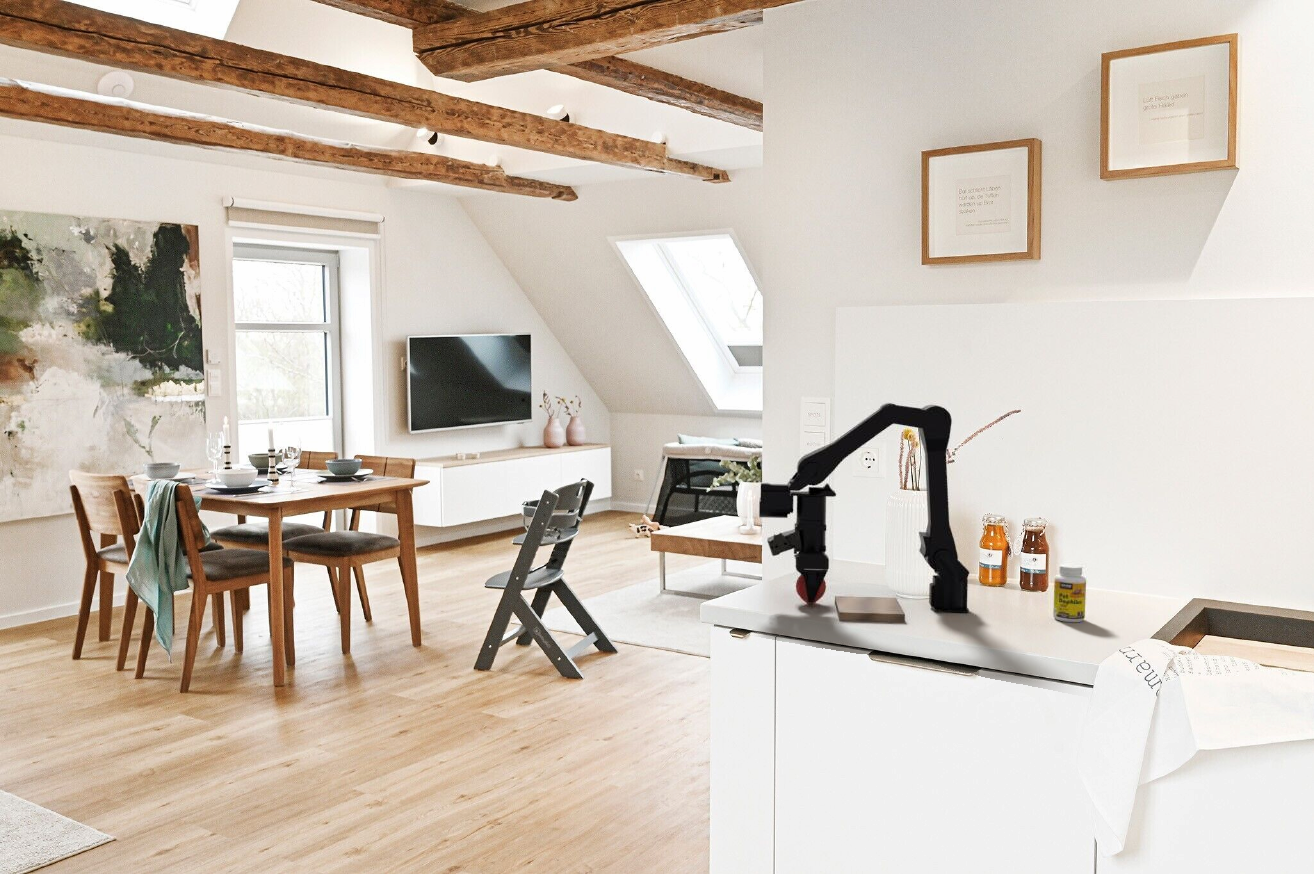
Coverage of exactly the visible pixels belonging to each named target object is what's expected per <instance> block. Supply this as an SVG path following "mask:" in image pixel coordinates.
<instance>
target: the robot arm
mask: <svg viewBox="0 0 1314 874" xmlns="http://www.w3.org/2000/svg"><path fill="white" fill-rule="evenodd" d="M952 420H953V419H952V415H951V413H950V411H948V410H947V409H946V408H945V407H942V406H940V405H937V404H928V405H925V406H923V407H922V408H921V407H912V406H906V405H899V404H895V403H891V402H885V403H883V404H882V405H881V406H880V407H879V408H878V409H877V410H876V411H875V412H873V413H871V414H870V415H868V417H866V418H864V419H863V420H862V421H860V422H859V423H858V424H856V425H854V426H853V427H852V428H851V429H849V430H848V431H846V432H844V434H843V435H841V436H840V437H838V438H837V439H836V440H834V441H832V442H830V443H829V444H826V445H824V446H821V447H820V448H817V449H815V450H813V451H811V452H809V453H807V454H805V455H803V456H801V458H799V460H798V462H797V465H796V466H797V467H796V472H795V473H794V475H793V476H792V477H791V478H789V481H788V482H787V484H786V483H770V482H761V483H760V497H759V504H758V505H759V506H758V507H759V510H758V511H759V512H758V516H759V518H766V519H767V518H774V519H775V518H777V519H788V515H791V514H794V497H796V522H794V529H790V530H787V531H786V530H785V531H783V532H779V533H778V534H773V535H772V536H769V537H767V541H766V542H767V544H768V547H769V550H770V553H771V555H772V556H773V557H775V556H779V555H780V554H781V553H784V552H787V551H791V550H793V556H794V557H793V558H794V559H795V570H796V572H798V573H799V574H800V575H803V577H804V581H805V587H806V593H807V599H808V602H814V600H815V598H816V595H817V593H818V591H819V589H820V586H821V584H822V582H823V580H825V577H826V576H827V573H828V571H829V569H830V558H829V556H828V555H827V554H826V552H827V545H826V539H827V538H826V532H827V524H826V523H827V521H826V520H827V498H828V497H829V498H832V497H833V498H834V497H837V493H836V491H835V490H833V489H832V488H831V486H830V484H829V483H827V482H826V483H825V484H824V485H823V486H818V485H820V484H822V483H823V482H824V481H825V480H826V479H827V478H829V476H830V475H831V474H832V473H833V472H834V471H835V469H837V467H838V466H839V465H840V464H841V463H842V461H844V460H845V459H846V458H847V457H848V456H850V455H851V454H854V452H855V451H857V450H859V448H861V447H862V446H864V445H865V444H867V442H869V441H870V440H873V439H874V438H875V437H876V436H878V435H879V434H881V433H882V432H883V431H884V430H887V428H889V427H890V426H892V425H900V426H906V427H912V428H918V433H919V438H920V440H921V444H922V446H923V451H924V460H925V462H924V463H925V464H924V465H925V483H926V484H925V485H926V487H925V488H926V506H927V527H926V529H925V532H924V531H919V532H918V534H919V540H920V541H919V542H920V548H919V550H918V551H919V553H920V554H921V555H922V557H923V558H924V560H925V562H926V563H927V564H928V566H929V567H930V568H931V569H932V570H933V572H934V573H935V574H933V575H932V582H930V583H929V584H928V585H929V589H928V593H929V594H928V597H929V598H928V604H929V606H930V607H931V608H932V610H933V611H934V612H946V613H947V612H950V613H952V612H954V613H969V612H970V609H969V608H968V588H969V585H968V584H969V580H968V579H969V575H970V570H969V569H967V568H966V566H964V565H963V563H962V562H961V561H960V560H959V555H958V552H957V546H956V542H955V538H954V535H953V532H952V528H951V525H950V512H949V511H950V510H949V509H950V507H949V491H948V490H949V489H948V488H949V487H948V469H947V468H948V467H947V464H948V463H947V450H948V445H949V442H950V438H951V431H952V424H953V422H952ZM808 486H809V487H808ZM806 487H808V490H807V491H801V490H804V489H805V488H806Z"/></svg>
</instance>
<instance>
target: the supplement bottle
mask: <svg viewBox="0 0 1314 874" xmlns="http://www.w3.org/2000/svg"><path fill="white" fill-rule="evenodd" d="M1058 573H1059V574H1056V575H1055V576H1054V585H1053V589H1054V590H1053V608H1052V609H1053V610H1052V611H1053V612H1052V613H1053V618H1054V619H1055V620H1056V621H1061V622H1064V623H1065V622H1066V623H1080V622H1083V621H1084V620H1085V617H1086V615H1085V614H1086V598H1087V596H1086V594H1087V578H1086V577H1085V576H1084V575H1083V566H1081V565H1079V564H1074V563H1073V564H1072V563H1062V564H1059V569H1058Z"/></svg>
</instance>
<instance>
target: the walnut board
mask: <svg viewBox="0 0 1314 874" xmlns="http://www.w3.org/2000/svg"><path fill="white" fill-rule="evenodd" d="M834 606H835V610H836V613H837V617H838V621H847V622H848V621H850V622H851V621H853V622H854V621H855V622H886V623H888V622H889V623H895V622H896V623H905V621H906V613H905V611H904V609H903V608H902V606H901V603H899V601H898V599H897V597H890V596H889V597H887V596H886V597H885V596H882V597H881V596H852V595H849V596H846V595H844V596H843V595H834Z"/></svg>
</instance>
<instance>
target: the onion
mask: <svg viewBox="0 0 1314 874" xmlns="http://www.w3.org/2000/svg"><path fill="white" fill-rule="evenodd" d="M826 583H827V582H826V580H825V579H824V580H823V582H822V584H821V586H820V589H819V591H818V593H817V595H816V598H815V600H814V602H808V599H807V593H806V587H805V581H804V577H803V575H801V574H800V575H799V576H798V577H797V580H796V583H795V591H796V593H797V595H798V597H799V598H800V599H801V600H802V601H803V602H804V603H806V604H807V605H809V606H813V605H814V604H816V602H818V601H819V600H821V598H823V597H824V594H825V593H826V588H827V584H826Z"/></svg>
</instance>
